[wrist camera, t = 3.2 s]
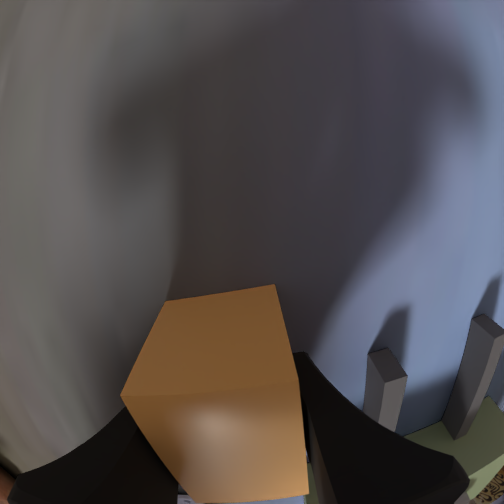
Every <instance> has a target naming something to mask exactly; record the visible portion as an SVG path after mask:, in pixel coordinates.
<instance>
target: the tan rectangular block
mask: <svg viewBox="0 0 504 504" xmlns="http://www.w3.org/2000/svg"><path fill="white" fill-rule="evenodd" d="M120 397H121V398H122V400H123V402H124V403H125V405H126V407H127V409H128V410H129V412H130V414H131V415H132V417H133V419H134V420H135V422H136V423H137V425H138V427H139V428H140V430H141V431H142V433H143V434H144V436H145V437H146V439H147V440H148V442H149V443H150V445H151V446H152V448H153V449H154V450H155V452H156V453H157V455H158V456H159V458H160V459H161V460H162V462H163V463H164V464H165V466H166V467H167V468H168V470H169V471H170V472H171V474H172V475H173V476H174V478H175V479H176V480H177V481H178V483H179V484H180V485H181V486H182V488H183V489H184V490H185V491H186V492H187V494H188V495H189V496H190V497H191V498H192V499H193V501H194V502H195V503H237V502H252V501H263V500H272V499H280V498H288V497H294V496H300V495H306V494H309V486H308V473H307V461H306V450H305V439H304V428H303V418H302V408H301V398H300V389H299V380H298V375H297V371H296V367H295V363H294V359H293V355H292V351H291V347H290V343H289V339H288V335H287V331H286V327H285V323H284V319H283V315H282V311H281V307H280V303H279V299H278V295H277V291H276V287H275V284H273V285H267V286H261V287H255V288H249V289H243V290H237V291H230V292H224V293H218V294H211V295H205V296H198V297H191V298H185V299H178V300H171V301H165V303H164V305H163V307H162V309H161V311H160V313H159V315H158V317H157V319H156V321H155V323H154V325H153V327H152V329H151V331H150V333H149V335H148V337H147V339H146V341H145V343H144V345H143V347H142V349H141V351H140V353H139V356H138V358H137V360H136V362H135V364H134V366H133V368H132V370H131V373H130V375H129V377H128V379H127V381H126V383H125V386H124V388H123V390H122V392H121V394H120Z"/></svg>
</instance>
